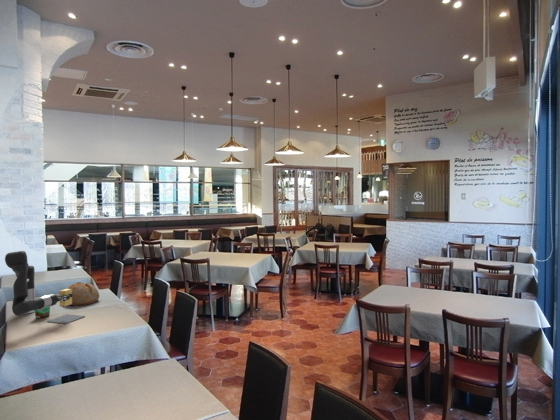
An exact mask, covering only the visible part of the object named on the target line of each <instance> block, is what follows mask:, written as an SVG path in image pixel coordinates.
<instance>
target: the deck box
mask: <svg viewBox="0 0 560 420" xmlns="http://www.w3.org/2000/svg"><path fill="white" fill-rule="evenodd" d="M58 294H59V295H68V294H72V289H67V288H65V289H61V290H59V293H58ZM62 297H63V296H62ZM70 304H72V297H70V299H68V300H66V301H63V300H62V301H59V306H61V307H66V306H70Z"/></svg>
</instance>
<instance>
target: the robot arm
mask: <svg viewBox="0 0 560 420" xmlns="http://www.w3.org/2000/svg"><path fill="white" fill-rule="evenodd" d="M4 263H5V264H6V266H7V268H10V269H11V270H12V271H13V272H14V274H15V277H16V279H15V281H14V282H13V286H12V289H13V291H12V292H13V300H12V304H11V305H12V306H11V310H12V313H13V315H15V316H17V317H20V316H22V315H28V314H32V313H35V310H38V309H42V308H46V307H50V308H51V307H54V306H56V304H57V303H60V301H62V300H63V301H66V300H68V299H70V297H72V296H73V294H68V295H59V293H56V294H54V293H50V294H46V295H45V294H44V295H42V296H40V297H36V296H35V294H36V291H35V290H36V289H35V273H36V272H35V267H34V265H29V263H28V254H27V253H26V251H25V250H19V251H18V250H17V251H12V252H7V254H6V255H5V257H4ZM62 296H63V297H62Z"/></svg>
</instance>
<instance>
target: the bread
mask: <svg viewBox="0 0 560 420" xmlns="http://www.w3.org/2000/svg"><path fill="white" fill-rule="evenodd" d="M66 289H72V294H73V296H72V304H70V305H72V306H85V305H91V304H94V303H96V302H97V301H99V298H100V293H99V290H98V289H97V287H95V286H94V285H93V283H89V282H88V283H87V282H86V283H83V282H80V281H78V282H76V283H72V284H71V285H70V286H68V287H67V288H66ZM70 305H69V306H70Z"/></svg>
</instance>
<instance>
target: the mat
mask: <svg viewBox="0 0 560 420" xmlns="http://www.w3.org/2000/svg"><path fill="white" fill-rule="evenodd" d="M85 317H86V315H78V314H71V313H70V314H69V313H68V314H67V313H66V314H63V315H60V316H58V317H55V318H52V319H49V320H46V323H50V322H52V323H51V324H59V323H61V325H68V324H70V323H72V322H76V321H77V320H78V321H79V320H81V319H84V318H85Z"/></svg>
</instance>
